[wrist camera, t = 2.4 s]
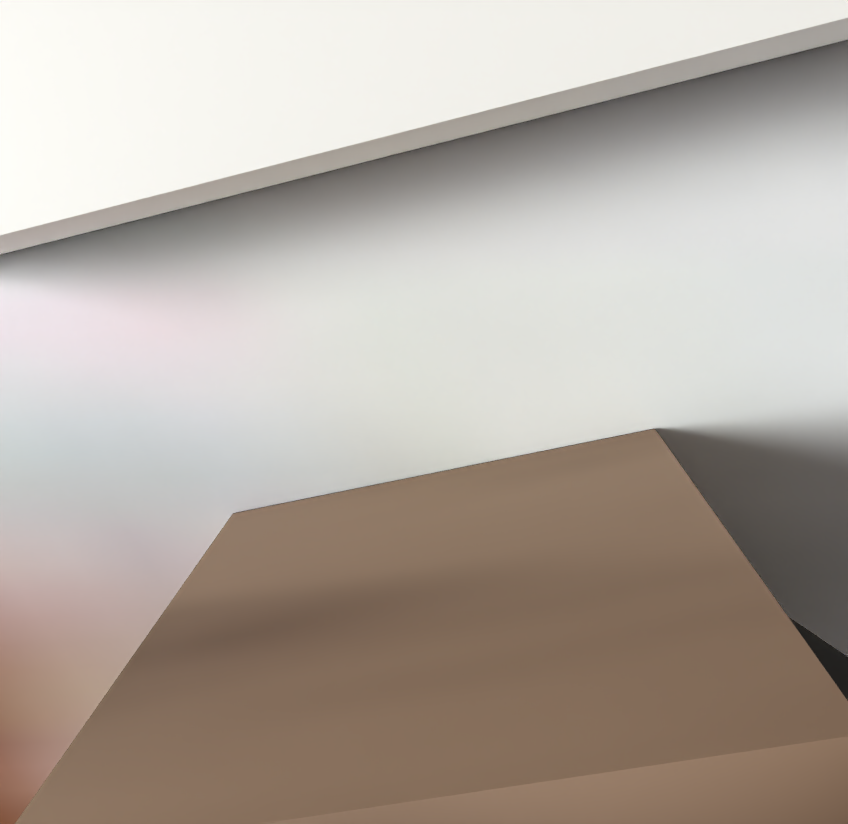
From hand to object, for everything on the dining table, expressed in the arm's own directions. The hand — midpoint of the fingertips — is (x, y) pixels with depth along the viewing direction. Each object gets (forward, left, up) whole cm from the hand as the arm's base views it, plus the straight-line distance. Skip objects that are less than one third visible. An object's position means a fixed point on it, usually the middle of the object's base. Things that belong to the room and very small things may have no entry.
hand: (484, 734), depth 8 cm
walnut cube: (0, 0, -1) cm, 1 cm away
